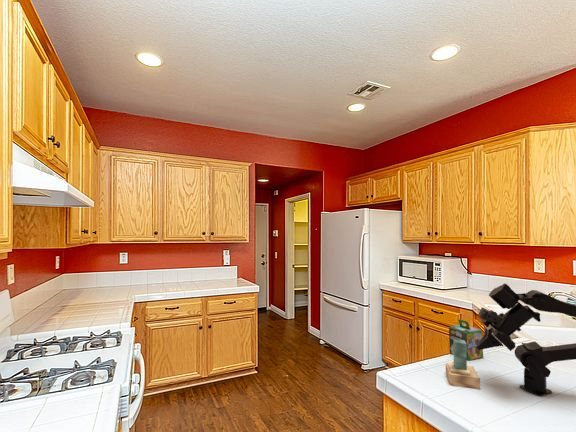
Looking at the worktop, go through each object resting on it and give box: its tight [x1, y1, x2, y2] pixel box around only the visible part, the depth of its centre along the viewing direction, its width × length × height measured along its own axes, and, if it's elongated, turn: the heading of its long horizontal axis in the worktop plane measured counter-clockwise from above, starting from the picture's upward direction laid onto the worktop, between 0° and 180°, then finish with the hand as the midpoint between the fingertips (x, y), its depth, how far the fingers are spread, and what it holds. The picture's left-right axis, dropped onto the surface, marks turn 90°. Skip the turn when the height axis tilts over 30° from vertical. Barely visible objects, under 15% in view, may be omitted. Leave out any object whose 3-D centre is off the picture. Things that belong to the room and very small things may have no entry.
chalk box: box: [448, 318, 484, 361], centre depth 137 cm, size 9×9×15 cm
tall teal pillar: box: [447, 339, 471, 375], centre depth 115 cm, size 6×8×10 cm
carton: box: [445, 362, 481, 390], centre depth 114 cm, size 9×10×4 cm
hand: (477, 348), depth 113 cm, fingers closed
